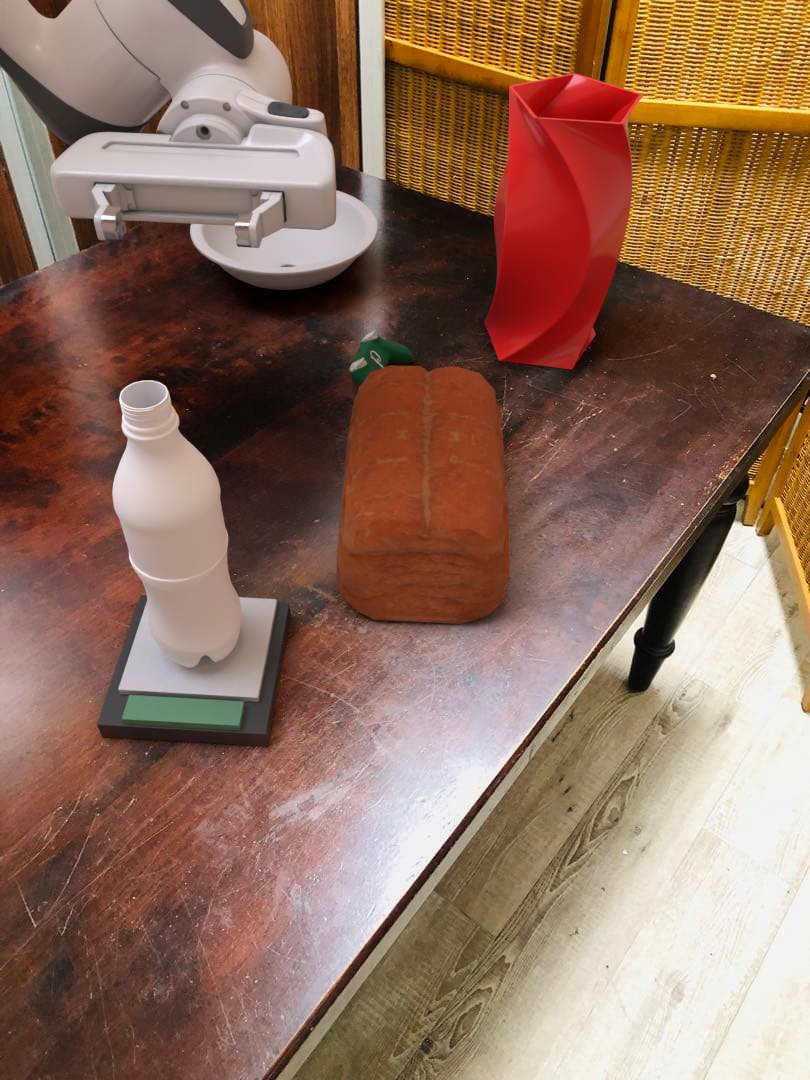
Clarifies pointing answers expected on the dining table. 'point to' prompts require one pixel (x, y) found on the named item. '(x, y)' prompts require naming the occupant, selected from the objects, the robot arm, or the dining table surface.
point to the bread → (424, 498)
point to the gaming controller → (377, 356)
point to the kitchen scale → (199, 684)
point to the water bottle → (174, 530)
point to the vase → (559, 216)
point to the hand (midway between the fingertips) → (176, 234)
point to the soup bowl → (293, 249)
